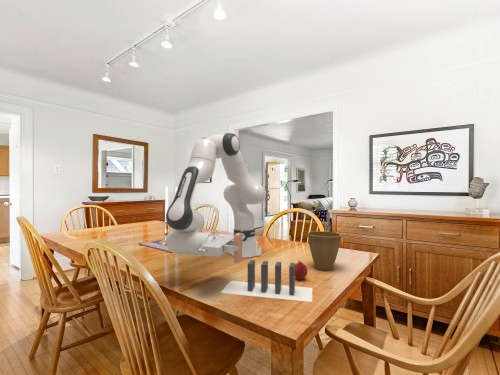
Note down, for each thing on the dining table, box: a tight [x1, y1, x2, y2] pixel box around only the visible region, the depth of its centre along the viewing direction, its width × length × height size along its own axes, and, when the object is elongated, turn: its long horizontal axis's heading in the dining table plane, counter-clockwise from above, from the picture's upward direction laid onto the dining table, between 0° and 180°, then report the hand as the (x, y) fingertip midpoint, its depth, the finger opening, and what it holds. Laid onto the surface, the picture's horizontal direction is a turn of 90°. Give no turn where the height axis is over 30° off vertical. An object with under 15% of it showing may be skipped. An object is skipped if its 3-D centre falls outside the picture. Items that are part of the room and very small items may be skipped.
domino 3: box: [274, 261, 282, 294], centre depth 96 cm, size 5×2×10 cm, turn 166°
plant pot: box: [307, 230, 342, 271], centre depth 123 cm, size 15×15×16 cm
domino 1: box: [247, 259, 256, 292], centre depth 98 cm, size 5×2×10 cm, turn 166°
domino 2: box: [260, 260, 269, 293], centre depth 97 cm, size 5×2×10 cm, turn 166°
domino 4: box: [288, 262, 296, 296], centre depth 95 cm, size 5×2×10 cm, turn 166°
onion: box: [295, 260, 308, 281], centre depth 108 cm, size 6×6×8 cm
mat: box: [220, 280, 313, 303], centre depth 97 cm, size 12×32×1 cm, turn 76°
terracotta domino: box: [233, 233, 243, 264], centre depth 99 cm, size 5×2×10 cm, turn 166°
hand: (240, 246), depth 99 cm, fingers closed on terracotta domino, 5 cm apart
